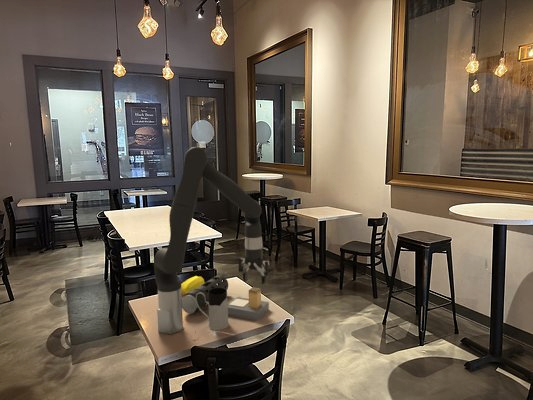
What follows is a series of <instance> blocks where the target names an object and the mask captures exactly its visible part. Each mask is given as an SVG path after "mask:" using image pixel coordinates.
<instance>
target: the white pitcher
mask: <svg viewBox="0 0 533 400" xmlns="http://www.w3.org/2000/svg"><path fill="white" fill-rule="evenodd" d="M198 294H202V295H203V296H204V298H205V302H206V296H205V295H204V294H203V293H201V292H200V293H198ZM195 299H196V304H197V307H198V308H199V310H200V312H201V313H202V314H203V315H204V316H205V317H206V318H207V319H208V327H209V330H211V331H213V332H214V331H215V332H218V331H220V330H223V329H226V328H228V327H229V325H230V323H229V315H228V304H229V302H228V300H229V299H228V289H227V290H226V289H224V288H214V289H211V290H209V302H206V303H207V305H208V314H206V313H205V312H204V311H203V310H202V309H200V307H199V305H198V303H197V294H196V298H195Z"/></svg>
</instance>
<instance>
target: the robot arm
mask: <svg viewBox="0 0 533 400" xmlns="http://www.w3.org/2000/svg"><path fill="white" fill-rule="evenodd" d="M182 169H183V170H182V175H181V178H180V181H179V184H178V187H177V189H176V192H175V194H174V197H173V199H172V201H171V202H172V203H171V206H170V207H171V208H170V210H169V219H168V222H169V230H170V231H169V232H170V237H169V241H168V246H167V247H163V248H160V249H158V251H157V252H156V253H155V254H154V259H153V270H154V280H155V284H156V286H157V299H158V308H157V310H156V311H157V312H156V315H157V329H158V330H157V331H158V332H159V333H162V334H165V335H166V334H167V335H172V334H175V333H177V332H180V331H181V330H183V328H184V321H183V319H184V317H183V308H182V298H183V296H182V292H181V284H182V281H181V279H180V277H179V275H178V273H179V272H180V271H181V269H182V268H183V265H184V264H185V255H186V248H187V241H188V238H189V233H190V230H191V225H192V221H193V218H194V214H195V211H196V210H195V209H196V207H197V202H198V195H199V190H200V183H201V180H202V178H203V179H204V180H206V181H207V182H208V183H210V184H211V185H212V186H213V187H214V188H215V189H216V190H218V191H219V193H221V194H222V195H223V196H224V197H226V199H228V200H229V201H230V202H231V203H233V204H234V205H235V206H237V207H238V208H239V209H240V210H241V212H242V213H244V222H245V223H244V225H245V226H244V233H245V235H244V236H245V237H244V257H245V258H244V257H243V256H242V257H240V258H239V259H238V272H239V273H242V280H243V283H244V282H245V283H247V282H248V271H249V270H250V271H251V270H254V271H258V272H259V273H260V274H261V284H262V285H265V284H266V283H267V276H269V275H270V274H271V263H270V259H269V260H268V259H267V260H263V259H264V258H263V255H264V253H263V251H264V250H263V245H264V244H263V236H262V235H263V234H262V224H261V218H260V217H261V215H262V211H263V209H262V208H263V207H262V206H261V204H260V202H258V201H257V200H255V199H254V198H252V197H251V196H250V195H249V194H247V192H246V191H245V190H244V189H243V188H242V187H241V186H240V185H239V184H237V183H236V182H235V181H234V180H233V179H231V178H230V177H228V176H226V175H225V174H224V173H222V172H220V171H219V169H217V168H215V167H214V166H213V165H212V164H211V163H210V161H209V160H208V155H207V152H206V151H205V150H204V149H203V148H202V147H199V146H193V147H190V148H189V149H188V150H187V151H186V152H185V154H184V155H183V168H182ZM244 263H245V264H246V265H245V267H244Z"/></svg>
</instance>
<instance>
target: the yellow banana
mask: <svg viewBox="0 0 533 400" xmlns="http://www.w3.org/2000/svg"><path fill="white" fill-rule="evenodd" d="M204 283H205V279H204V278H203V277H202V276H197V275H195V276H192V277H190V278H188V279H185V281H183V282H181V292H182V297H183V296H184V295H185V294H186V293H188V292H189V291H191V290H194V289H196V288H197V287H199V286H201V285H202V284H204Z"/></svg>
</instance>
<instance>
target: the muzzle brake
mask: <svg viewBox="0 0 533 400" xmlns="http://www.w3.org/2000/svg"><path fill="white" fill-rule="evenodd" d="M214 288H224V289H226V290H227V291H228V289H229V281H228V279H227V278H226V277H225V276H224V275H221V274H217V275H215V276H213V277H212V278H211V279H209V280H207V281H204V284H202V285H201V286H199V287H197V288H196V289H194V290H191V291H189V292H188V293H186V294H185V295H184V296H182V311H183V312H185V313H186V314H196V313H198V312H199V311H200V310H199V308H198V307H197V304H196V299H195V298H196V294H197V303H198V305H199V307H200V309H201V310H202V309H203V308H205V307H206V306H207V305H208V304H207V303H206V302H209V290H211V289H214ZM200 292H201V293H203V294H204V295H205V296H206V302H205V298H204V296H203V295H202V294H198V293H200ZM200 312H201V311H200Z"/></svg>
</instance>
